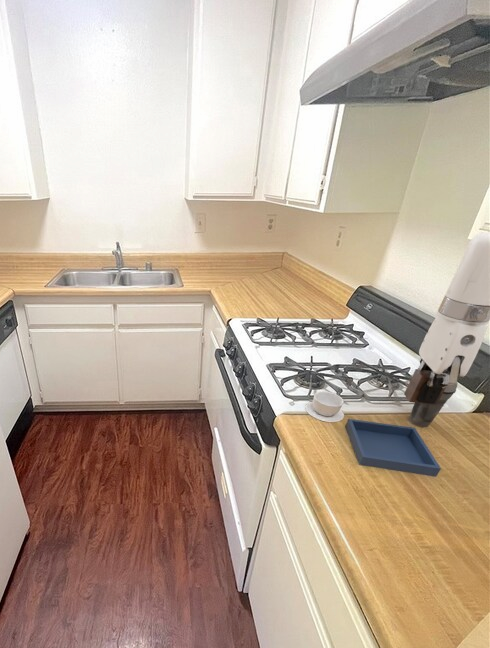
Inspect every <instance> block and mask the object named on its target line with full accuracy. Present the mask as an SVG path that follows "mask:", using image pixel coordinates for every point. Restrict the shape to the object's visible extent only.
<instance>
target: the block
mask: <svg viewBox="0 0 490 648" xmlns="http://www.w3.org/2000/svg"><path fill="white" fill-rule="evenodd" d="M431 373H432V371H428V370H419V369H418V368H415V370H414V372H413V373H412V376H411V378H410V380H409V383H408V385H407V387H406V389H405V391H404V393H403V395H404V396H405V398H406V399H407V401H408V402H409V403H412V404H414V403H421V404H430V403H422V402H418V401H417V397H418V395H419V393H420V391H421V389H422V387H423V385H424V384H427V382H428V380H429V378H430V375H431ZM437 378H443V376H441V375H437V377H436V379H437ZM446 387H447V386H446ZM446 387H445V388H446ZM445 388H443V389H442V391H441V393H440V395H439V396H438V398H437V400H436V402H435V403H434V404H430V405H437V403H438V401H439V399H440V398H441V396H442V394H443V392H444V390H445Z"/></svg>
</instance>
